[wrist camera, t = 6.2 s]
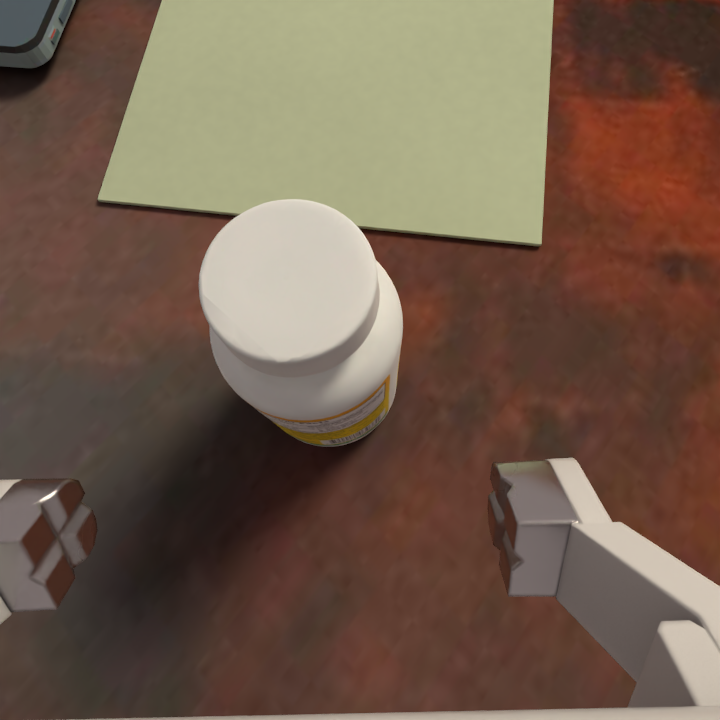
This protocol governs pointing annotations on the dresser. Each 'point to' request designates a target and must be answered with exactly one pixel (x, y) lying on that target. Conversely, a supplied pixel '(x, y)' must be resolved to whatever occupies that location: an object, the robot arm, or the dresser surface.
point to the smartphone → (31, 30)
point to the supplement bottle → (303, 320)
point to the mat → (345, 113)
